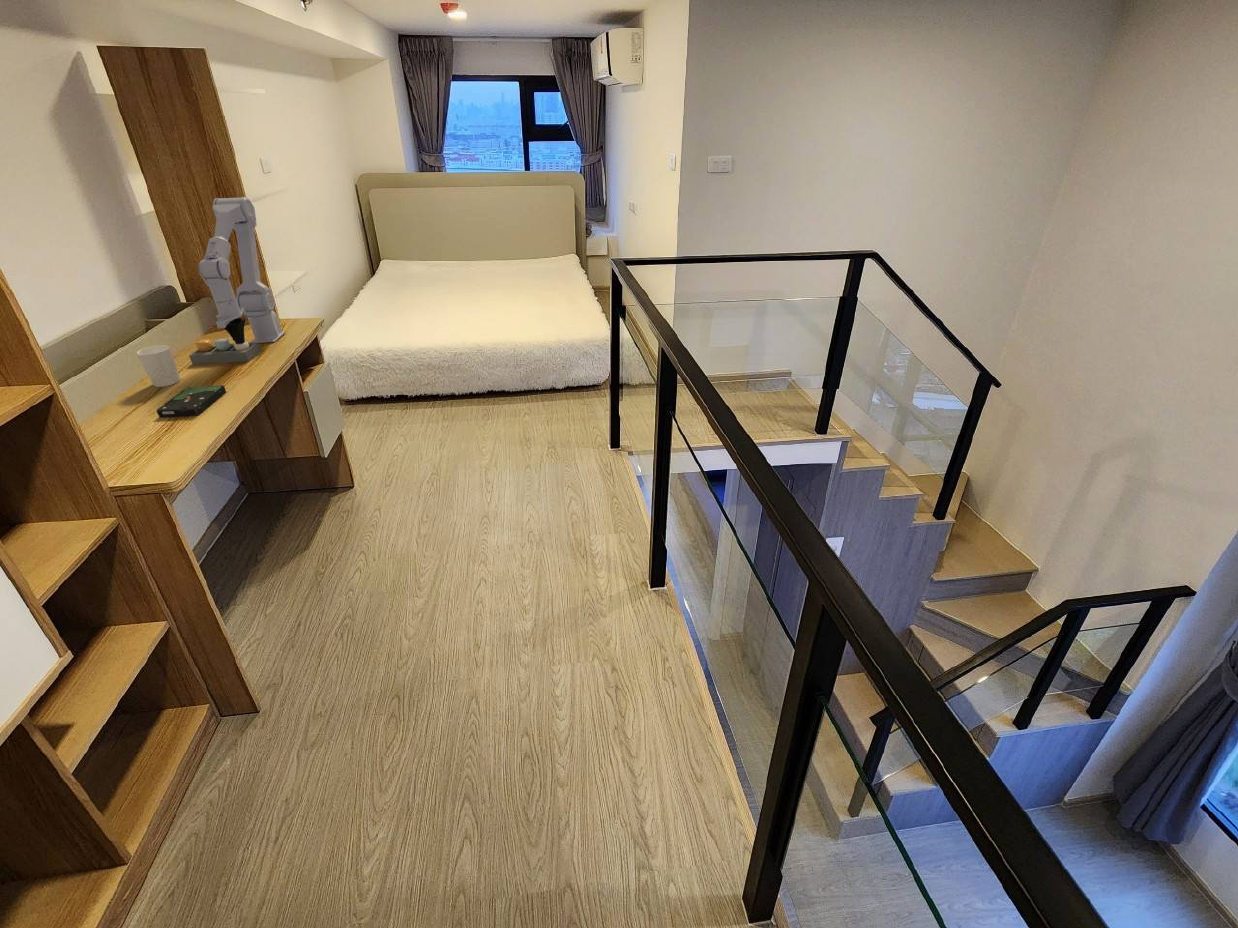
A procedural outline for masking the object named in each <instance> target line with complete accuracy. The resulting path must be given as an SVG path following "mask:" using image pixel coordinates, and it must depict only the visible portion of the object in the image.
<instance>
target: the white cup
mask: <svg viewBox="0 0 1238 928" xmlns="http://www.w3.org/2000/svg"><path fill="white" fill-rule="evenodd" d="M136 355H137V357H138V359H139V361H140V363H141V365H142V367H143V369H144V371H145V372H146V374H147V377H149V378H150V382H151V383H152V385H153V386H154V387H157V388H163V387H168V386H171V385H174V384H177V383H179V382H180V381H181V377H180V374H179V372H178V366H177V364H176V361H175V358H174V355H173V353H172V350H171V347H170V346H169V345H167V344H156V345H150V346H146V347H143V348H140V349H138V350H137V351H136Z"/></svg>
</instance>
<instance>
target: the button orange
mask: <svg viewBox="0 0 1238 928" xmlns="http://www.w3.org/2000/svg"><path fill="white" fill-rule="evenodd" d="M195 345H196V347H197V349H198V350H199V352H206V351H210V350H212V349H213V346H212V345H213V344H212V341H211V339H206V338H205V339H201V340H198V341H195Z"/></svg>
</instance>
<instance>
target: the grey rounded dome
mask: <svg viewBox="0 0 1238 928" xmlns="http://www.w3.org/2000/svg"><path fill="white" fill-rule="evenodd" d="M213 344H215V346H216V349H217V351H225V350H228V349H230V348H231V345H230V344H231V343H230V339H229V338H219V339H216V340H214V341H213Z"/></svg>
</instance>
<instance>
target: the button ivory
mask: <svg viewBox="0 0 1238 928" xmlns="http://www.w3.org/2000/svg"><path fill="white" fill-rule="evenodd" d="M248 343H249V342H248V341H247V340H245V342H244V343H243V344H236V343H235V342H234V344H233V343H232V344H233V345H234V347H235V350H236V351H237V350H247V349H249V348H250V347H249V344H248Z"/></svg>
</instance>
